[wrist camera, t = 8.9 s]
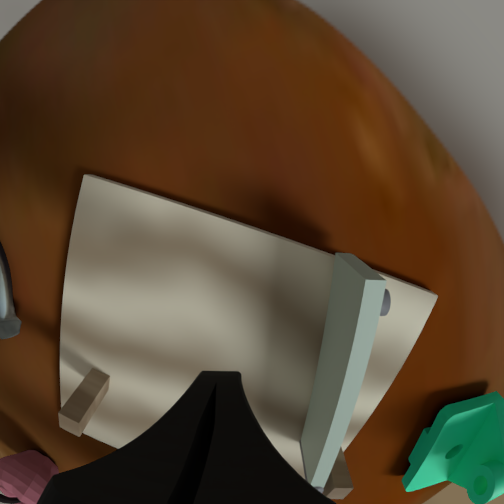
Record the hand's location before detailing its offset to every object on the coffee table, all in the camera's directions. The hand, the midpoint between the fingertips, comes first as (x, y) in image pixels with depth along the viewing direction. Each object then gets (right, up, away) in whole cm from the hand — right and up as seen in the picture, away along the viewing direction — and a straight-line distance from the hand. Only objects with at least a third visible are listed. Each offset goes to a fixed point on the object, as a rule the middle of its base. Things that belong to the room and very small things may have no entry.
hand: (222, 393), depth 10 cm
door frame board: (-1, -4, +11) cm, 11 cm away
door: (+6, -3, +9) cm, 11 cm away
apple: (-24, -20, +14) cm, 35 cm away
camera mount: (+21, -14, +13) cm, 29 cm away
